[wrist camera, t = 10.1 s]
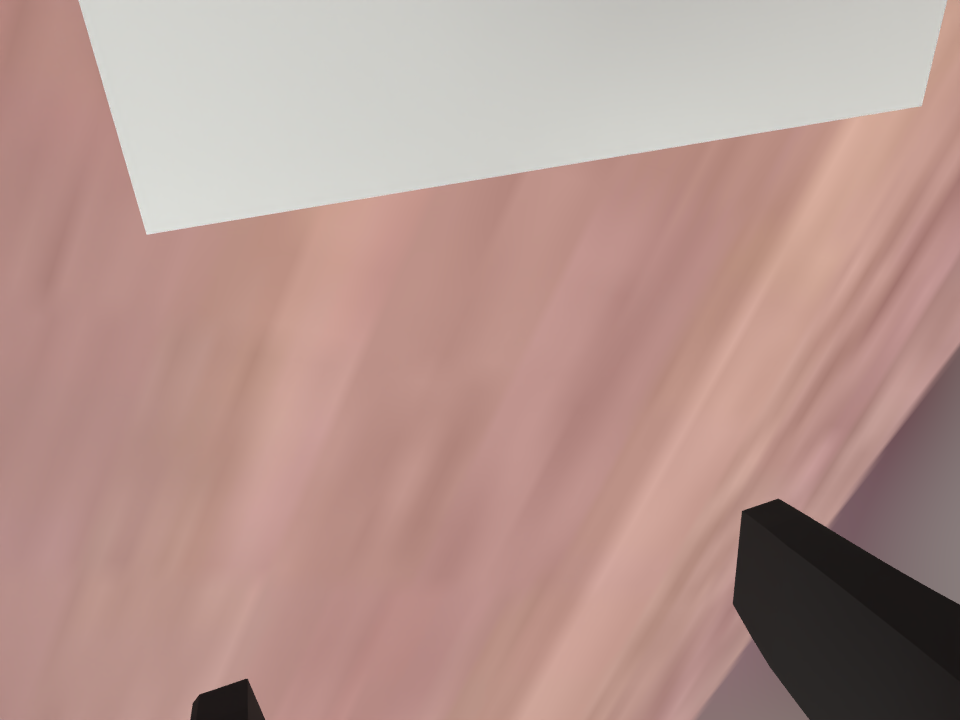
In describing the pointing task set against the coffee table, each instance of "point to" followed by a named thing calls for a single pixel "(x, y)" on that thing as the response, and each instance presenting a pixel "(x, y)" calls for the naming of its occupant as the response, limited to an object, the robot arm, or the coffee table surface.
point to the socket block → (469, 88)
